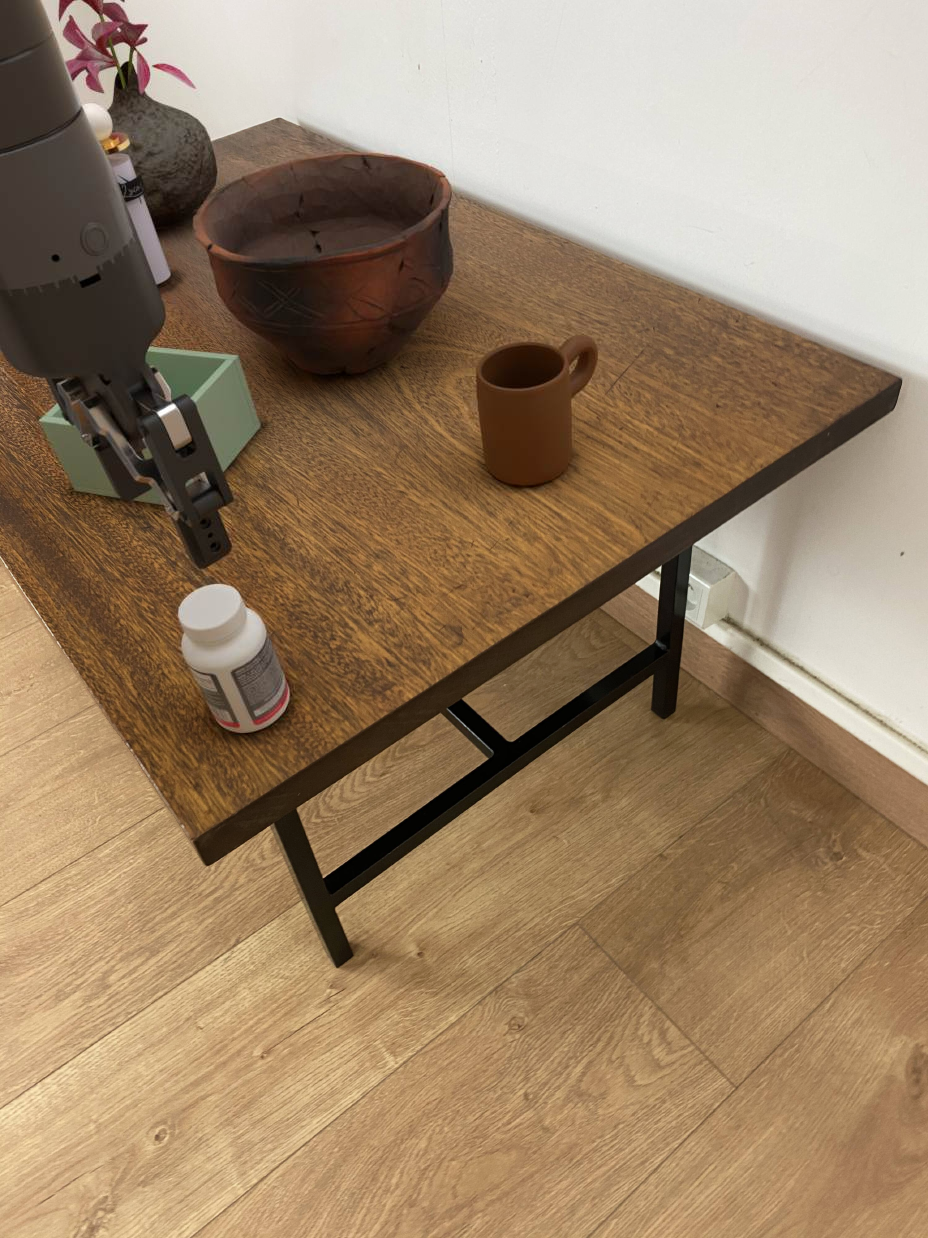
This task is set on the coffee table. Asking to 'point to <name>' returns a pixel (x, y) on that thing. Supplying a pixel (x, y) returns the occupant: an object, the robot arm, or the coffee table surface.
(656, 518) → the coffee table surface
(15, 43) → the robot arm
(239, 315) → the bowl
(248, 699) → the pill bottle
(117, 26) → the vase
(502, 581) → the coffee table surface
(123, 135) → the perfume bottle
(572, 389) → the mug
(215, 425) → the bin
